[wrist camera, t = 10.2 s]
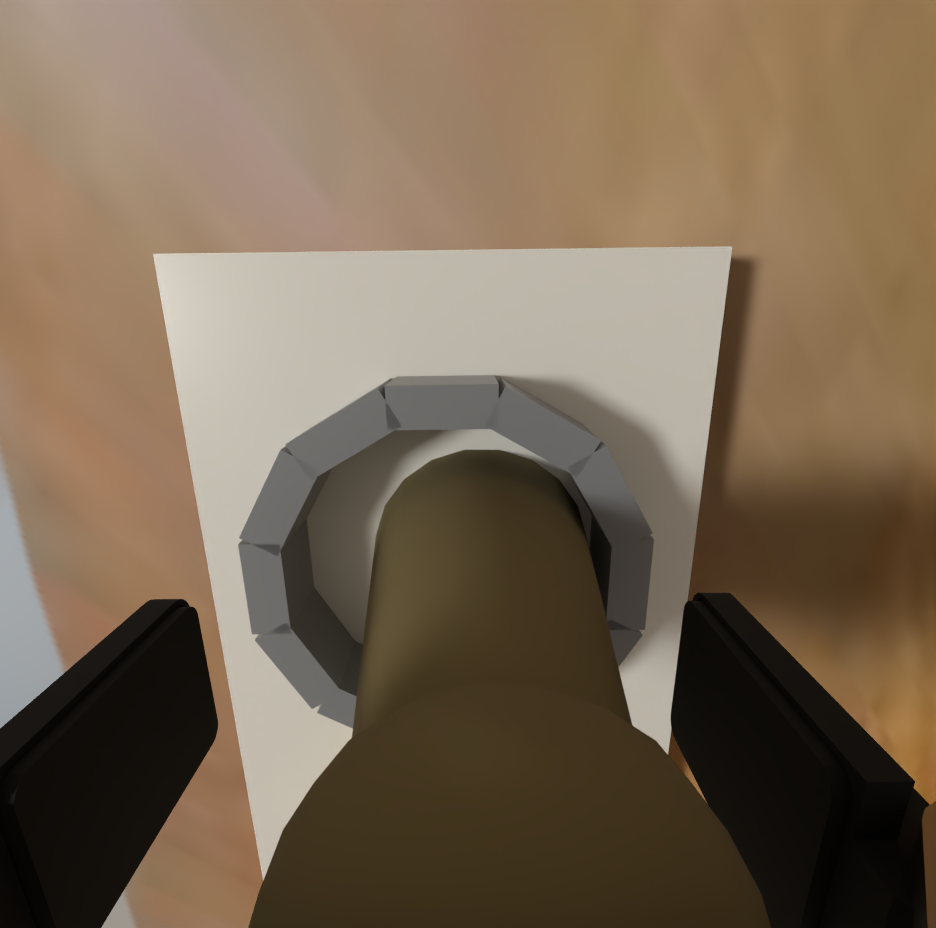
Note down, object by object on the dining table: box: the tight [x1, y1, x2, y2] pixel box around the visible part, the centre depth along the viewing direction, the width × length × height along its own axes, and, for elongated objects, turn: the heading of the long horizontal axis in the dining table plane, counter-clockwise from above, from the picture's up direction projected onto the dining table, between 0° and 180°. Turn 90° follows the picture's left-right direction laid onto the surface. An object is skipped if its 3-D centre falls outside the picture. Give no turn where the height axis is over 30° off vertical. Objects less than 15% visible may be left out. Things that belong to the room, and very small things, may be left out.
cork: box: [249, 450, 771, 928], centre depth 9 cm, size 6×6×11 cm
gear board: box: [153, 246, 732, 881], centre depth 14 cm, size 22×14×4 cm, turn 1°
